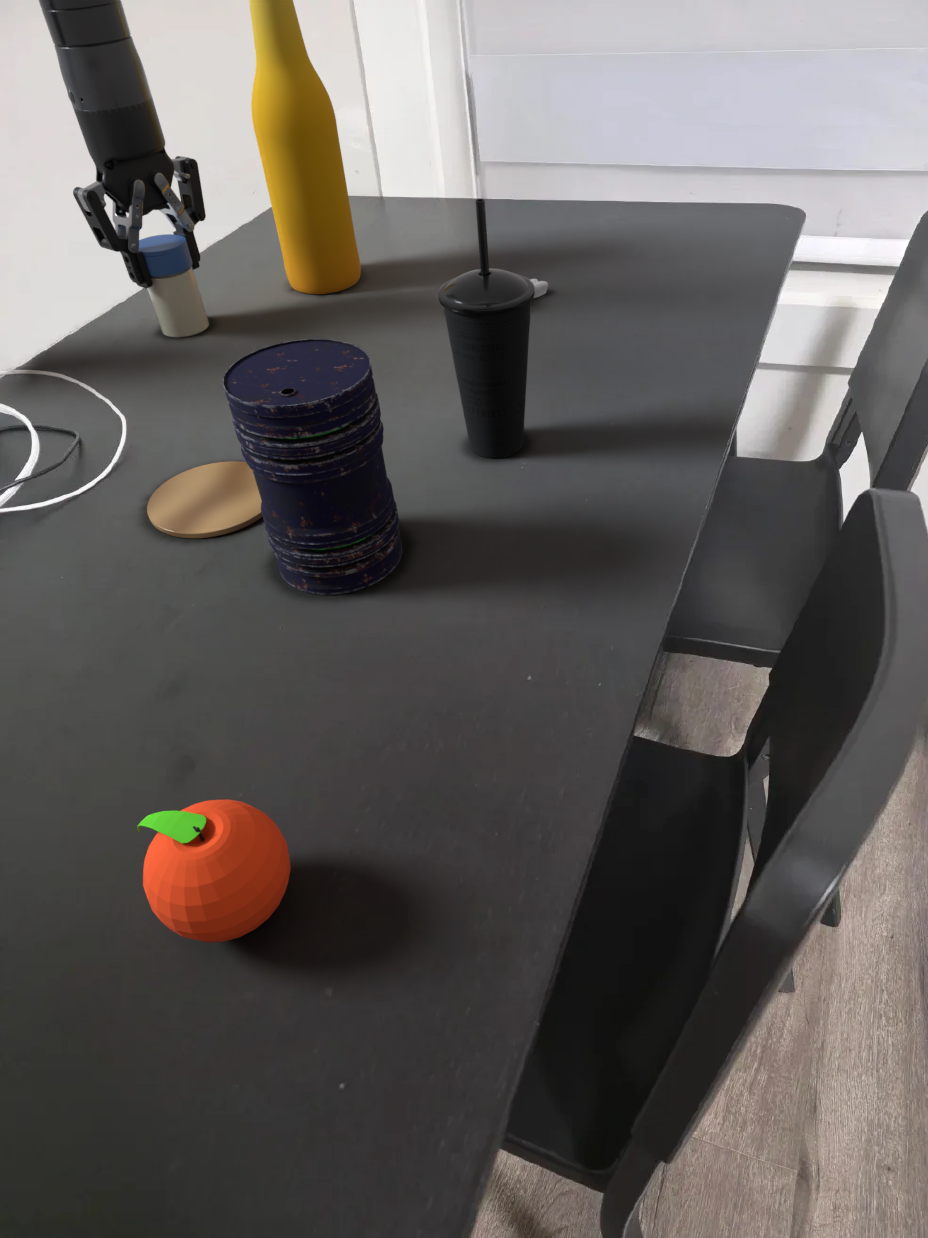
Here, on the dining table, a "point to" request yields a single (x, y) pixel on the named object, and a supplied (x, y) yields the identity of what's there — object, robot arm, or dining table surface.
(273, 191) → the beer bottle
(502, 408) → the drinking cup
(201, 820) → the clementine
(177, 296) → the jar
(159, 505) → the coaster
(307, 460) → the navy ridged cylinder
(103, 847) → the dining table surface
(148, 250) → the jar lid
